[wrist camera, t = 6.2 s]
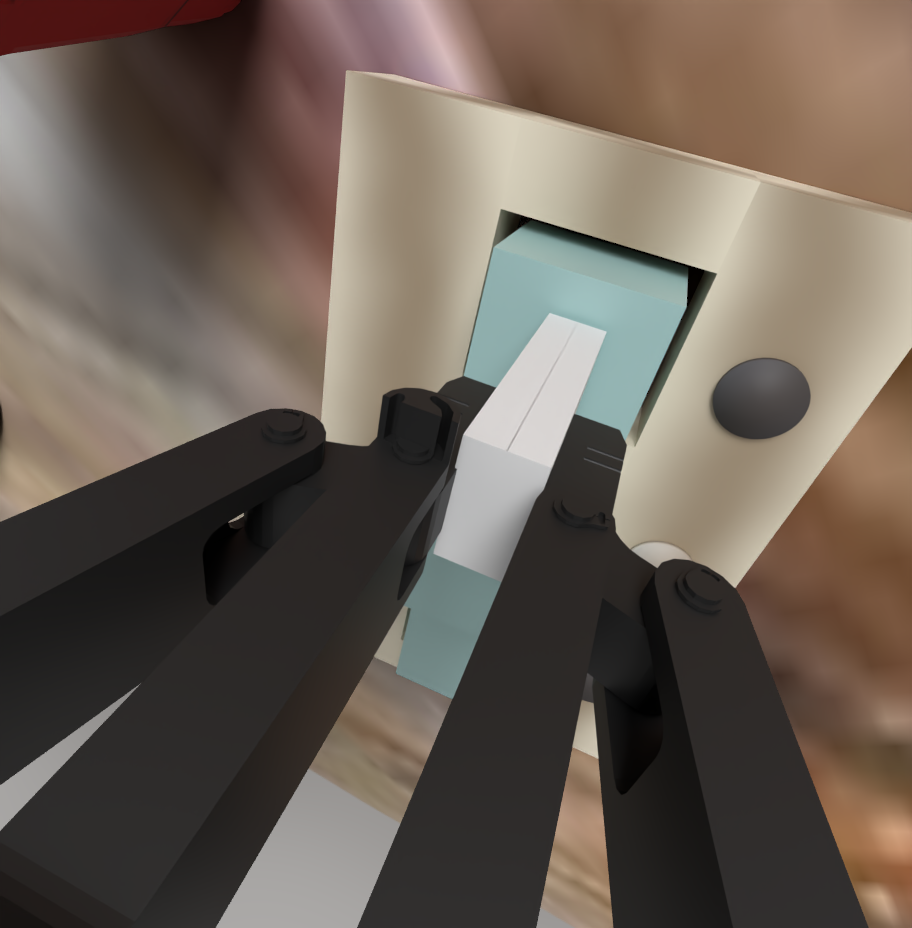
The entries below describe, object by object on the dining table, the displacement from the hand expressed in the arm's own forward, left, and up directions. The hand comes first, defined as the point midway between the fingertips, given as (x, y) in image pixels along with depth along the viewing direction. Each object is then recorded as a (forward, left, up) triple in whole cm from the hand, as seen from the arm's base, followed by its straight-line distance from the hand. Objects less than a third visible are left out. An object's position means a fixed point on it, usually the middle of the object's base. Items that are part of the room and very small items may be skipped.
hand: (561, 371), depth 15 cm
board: (0, -7, -6) cm, 9 cm away
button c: (0, 0, -4) cm, 4 cm away
